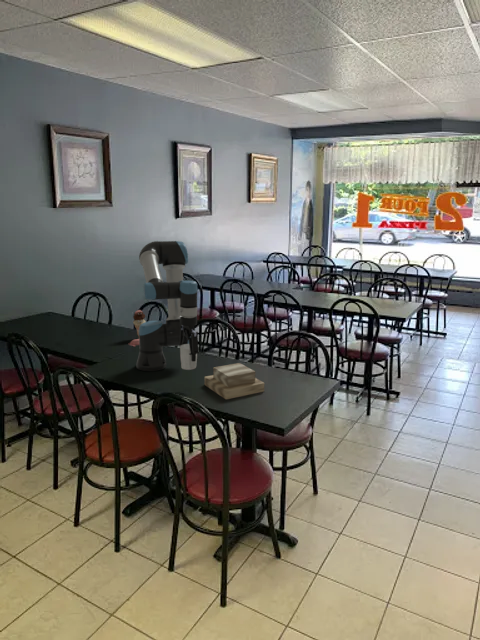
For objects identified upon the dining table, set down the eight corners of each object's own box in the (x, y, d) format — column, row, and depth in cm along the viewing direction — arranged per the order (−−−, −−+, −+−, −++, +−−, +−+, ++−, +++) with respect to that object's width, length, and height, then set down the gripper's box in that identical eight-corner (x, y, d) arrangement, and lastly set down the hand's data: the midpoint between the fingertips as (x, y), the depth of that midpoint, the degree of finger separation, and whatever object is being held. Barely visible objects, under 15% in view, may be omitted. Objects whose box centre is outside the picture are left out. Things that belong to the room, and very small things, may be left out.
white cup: (199, 365, 230) (200, 344, 227) (193, 371, 222) (193, 349, 220) (183, 363, 232) (183, 343, 229) (177, 369, 224) (177, 347, 222)
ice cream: (142, 336, 313) (141, 308, 308) (156, 342, 301) (156, 313, 297) (118, 340, 302) (117, 311, 298) (132, 347, 290) (131, 316, 286)
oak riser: (204, 384, 233) (204, 366, 231) (241, 377, 243) (241, 360, 241) (225, 399, 216) (226, 379, 214) (264, 391, 226) (264, 372, 224)
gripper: (171, 311, 228) (171, 359, 233) (191, 322, 211) (191, 373, 216) (186, 310, 231) (186, 357, 237) (206, 320, 214) (206, 370, 220)
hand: (188, 364), depth 227 cm, fingers closed on white cup, 8 cm apart
